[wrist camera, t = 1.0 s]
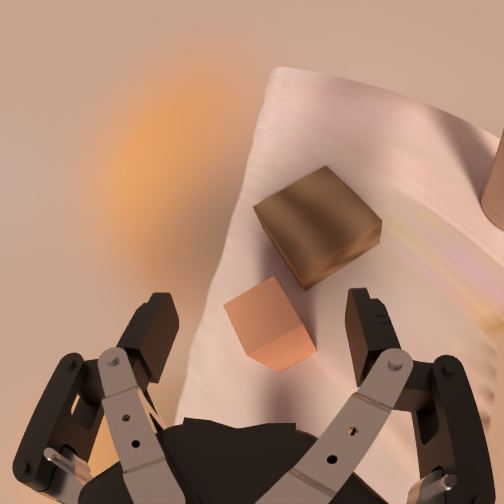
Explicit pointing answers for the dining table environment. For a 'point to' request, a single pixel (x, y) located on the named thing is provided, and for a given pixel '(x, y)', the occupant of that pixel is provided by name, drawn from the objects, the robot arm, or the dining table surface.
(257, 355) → the terracotta block
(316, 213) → the walnut block
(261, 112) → the dining table surface
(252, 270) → the dining table surface
